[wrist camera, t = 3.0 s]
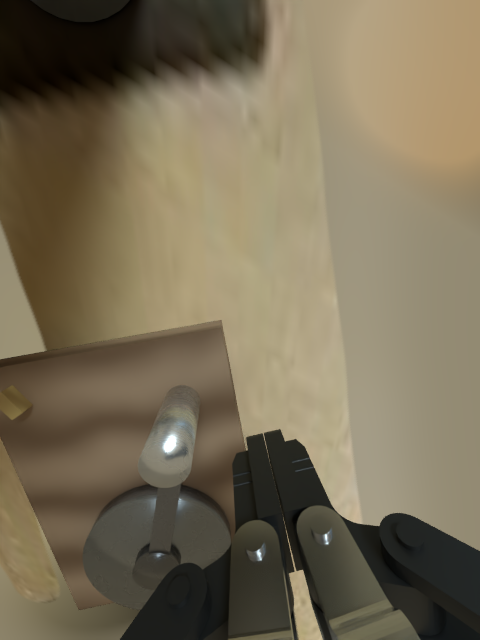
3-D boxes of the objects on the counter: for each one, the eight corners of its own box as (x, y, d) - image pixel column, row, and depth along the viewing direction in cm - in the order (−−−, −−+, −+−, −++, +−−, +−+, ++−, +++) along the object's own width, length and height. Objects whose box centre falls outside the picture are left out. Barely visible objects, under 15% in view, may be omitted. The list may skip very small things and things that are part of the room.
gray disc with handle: (218, 592, 24) (218, 742, 17) (87, 586, 23) (21, 748, 15) (266, 381, 20) (295, 457, 12) (105, 359, 18) (24, 428, 11)
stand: (0, 359, 20) (-44, 378, 17) (221, 320, 21) (221, 331, 18) (92, 577, 26) (72, 625, 23) (262, 541, 27) (268, 582, 23)
